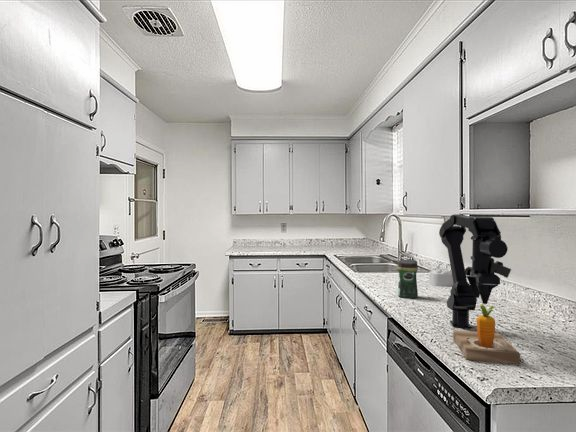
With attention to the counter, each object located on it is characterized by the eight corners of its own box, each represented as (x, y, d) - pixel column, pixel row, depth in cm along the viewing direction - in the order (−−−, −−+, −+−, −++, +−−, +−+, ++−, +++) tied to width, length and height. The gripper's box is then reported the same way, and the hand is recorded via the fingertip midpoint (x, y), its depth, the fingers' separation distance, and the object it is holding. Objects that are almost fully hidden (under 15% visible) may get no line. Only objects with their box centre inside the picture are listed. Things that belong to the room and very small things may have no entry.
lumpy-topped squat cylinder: (427, 283, 228) (427, 268, 227) (449, 283, 227) (449, 268, 227) (434, 286, 217) (434, 271, 217) (457, 286, 217) (457, 271, 217)
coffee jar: (416, 295, 193) (417, 259, 193) (418, 299, 186) (419, 261, 185) (396, 294, 195) (397, 258, 195) (398, 298, 188) (398, 260, 187)
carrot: (494, 352, 116) (494, 303, 116) (496, 357, 112) (495, 306, 112) (476, 349, 118) (476, 301, 118) (477, 355, 114) (476, 305, 114)
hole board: (453, 339, 128) (453, 330, 128) (498, 342, 125) (498, 333, 125) (466, 359, 110) (466, 349, 110) (519, 364, 107) (519, 353, 107)
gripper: (519, 258, 117) (518, 309, 117) (498, 252, 135) (498, 296, 135) (479, 257, 119) (478, 307, 119) (465, 251, 137) (464, 294, 138)
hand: (481, 300), depth 128 cm, fingers open, 9 cm apart
